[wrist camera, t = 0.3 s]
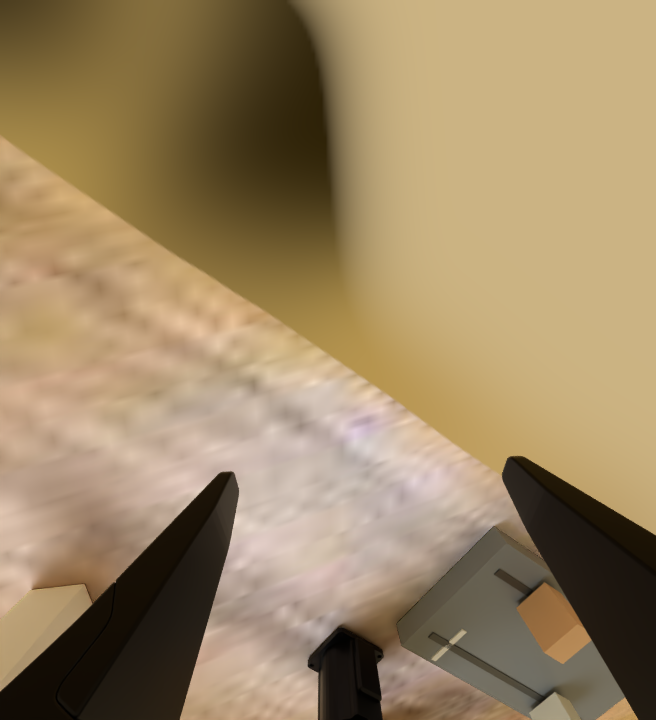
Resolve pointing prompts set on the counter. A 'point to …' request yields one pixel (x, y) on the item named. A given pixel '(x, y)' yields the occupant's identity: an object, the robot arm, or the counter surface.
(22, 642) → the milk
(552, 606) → the copper slider
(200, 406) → the counter surface
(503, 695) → the panel
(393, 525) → the counter surface
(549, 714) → the cream slider
